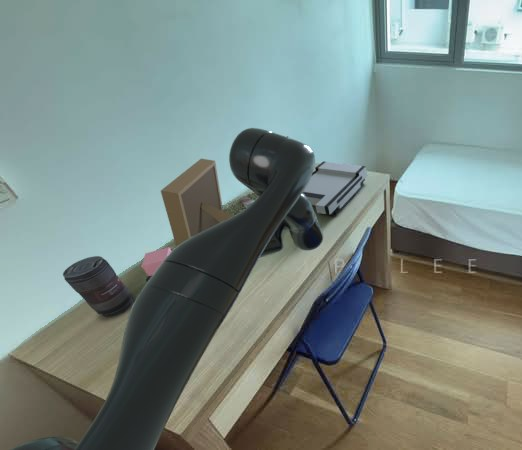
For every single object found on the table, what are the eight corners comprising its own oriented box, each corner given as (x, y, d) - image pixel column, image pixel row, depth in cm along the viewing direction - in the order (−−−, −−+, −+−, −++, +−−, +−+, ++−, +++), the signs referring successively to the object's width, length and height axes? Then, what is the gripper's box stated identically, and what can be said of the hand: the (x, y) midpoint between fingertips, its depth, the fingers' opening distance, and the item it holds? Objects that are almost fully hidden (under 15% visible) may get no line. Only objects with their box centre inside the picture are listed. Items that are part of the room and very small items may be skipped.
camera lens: (138, 291, 87) (107, 251, 78) (134, 311, 81) (100, 270, 72) (103, 303, 84) (66, 262, 75) (96, 324, 78) (55, 282, 69)
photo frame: (181, 261, 97) (139, 191, 83) (213, 222, 115) (183, 159, 100) (228, 258, 97) (194, 189, 83) (253, 220, 115) (229, 157, 101)
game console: (283, 214, 117) (277, 195, 112) (326, 178, 142) (323, 161, 137) (331, 223, 111) (327, 204, 106) (367, 183, 136) (365, 166, 131)
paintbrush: (238, 202, 126) (260, 220, 114) (236, 196, 125) (258, 214, 113) (247, 198, 128) (269, 216, 117) (245, 193, 127) (267, 210, 115)
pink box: (187, 292, 70) (166, 259, 64) (165, 299, 68) (141, 266, 62) (189, 279, 73) (169, 246, 67) (167, 285, 72) (145, 253, 66)
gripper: (228, 221, 75) (146, 242, 69) (230, 255, 64) (133, 283, 59) (239, 245, 79) (163, 266, 74) (242, 280, 69) (153, 309, 63)
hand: (150, 274), depth 66 cm, fingers closed on pink box, 4 cm apart
